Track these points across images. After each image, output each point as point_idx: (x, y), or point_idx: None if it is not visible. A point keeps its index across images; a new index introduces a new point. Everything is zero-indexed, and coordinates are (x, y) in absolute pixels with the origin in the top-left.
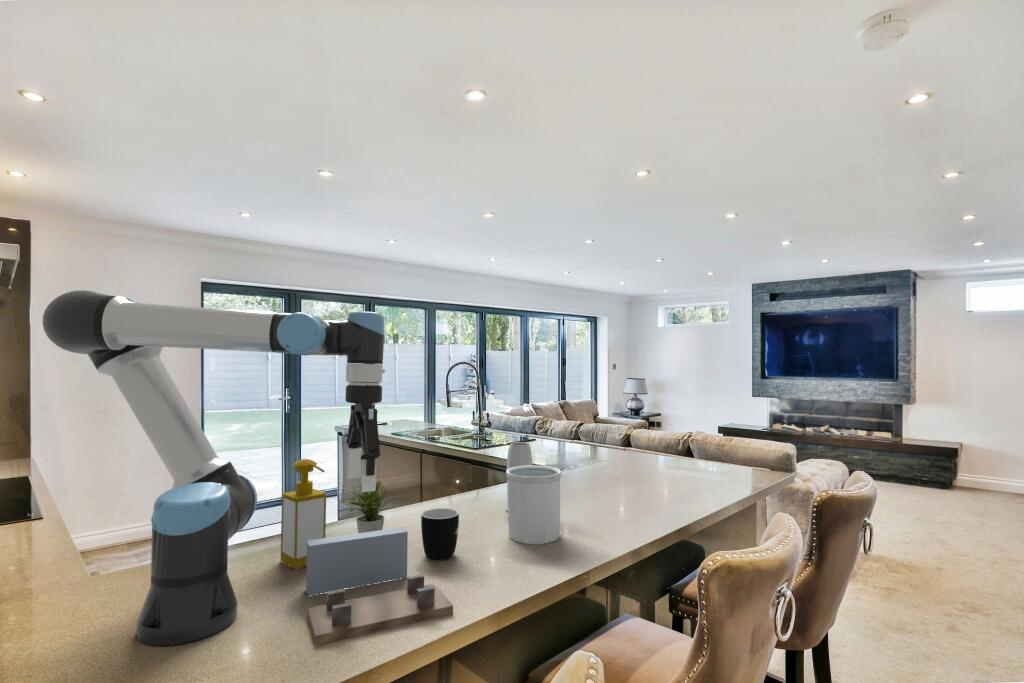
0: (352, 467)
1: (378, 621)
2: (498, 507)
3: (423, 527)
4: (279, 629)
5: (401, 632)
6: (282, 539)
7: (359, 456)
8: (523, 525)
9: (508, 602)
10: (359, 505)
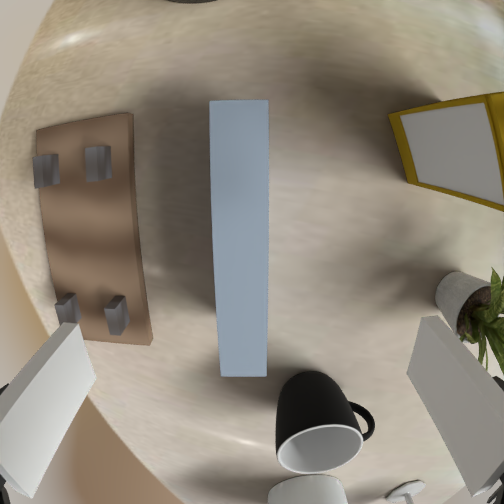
0: (444, 373)
1: (44, 225)
2: (437, 473)
3: (315, 407)
4: (109, 72)
5: (40, 252)
6: (467, 98)
7: (457, 450)
8: (285, 501)
9: (92, 397)
10: (494, 304)
